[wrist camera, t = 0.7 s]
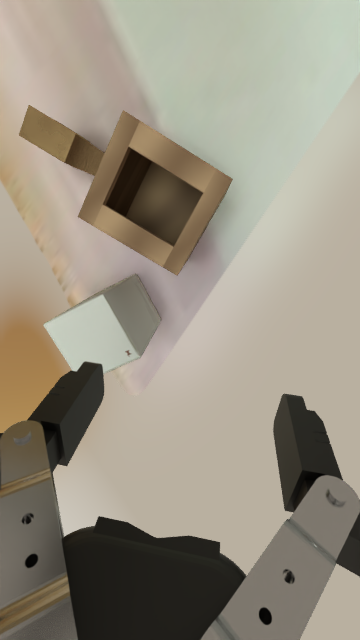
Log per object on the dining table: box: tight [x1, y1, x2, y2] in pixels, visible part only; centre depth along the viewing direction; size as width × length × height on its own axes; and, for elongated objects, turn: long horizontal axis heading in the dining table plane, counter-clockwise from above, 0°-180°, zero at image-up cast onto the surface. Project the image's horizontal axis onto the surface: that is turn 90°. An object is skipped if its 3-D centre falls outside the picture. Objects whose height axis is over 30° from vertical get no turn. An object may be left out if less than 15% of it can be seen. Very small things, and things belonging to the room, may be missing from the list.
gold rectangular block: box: [19, 105, 105, 176], centre depth 31 cm, size 4×3×10 cm, turn 60°
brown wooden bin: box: [78, 111, 232, 275], centre depth 31 cm, size 10×9×12 cm
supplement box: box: [44, 274, 161, 374], centre depth 35 cm, size 7×7×13 cm
